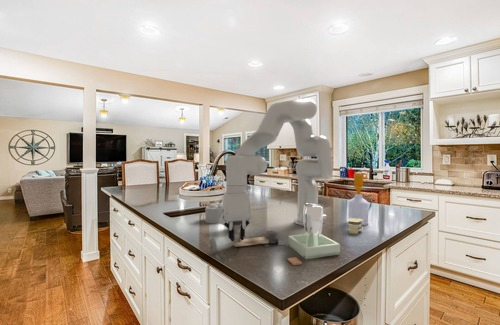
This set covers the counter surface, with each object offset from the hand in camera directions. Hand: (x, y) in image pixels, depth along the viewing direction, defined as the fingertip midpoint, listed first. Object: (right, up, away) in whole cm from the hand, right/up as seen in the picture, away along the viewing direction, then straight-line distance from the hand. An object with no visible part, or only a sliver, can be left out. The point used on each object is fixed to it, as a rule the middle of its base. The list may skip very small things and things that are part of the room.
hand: (236, 239), depth 92 cm
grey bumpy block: (-11, -2, +37) cm, 38 cm away
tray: (+27, -3, -3) cm, 27 cm away
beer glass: (+27, -2, -2) cm, 28 cm away
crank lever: (+7, -2, +2) cm, 8 cm away
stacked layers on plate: (+51, -3, +18) cm, 54 cm away
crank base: (+16, -3, -3) cm, 16 cm away
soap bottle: (+58, -2, +32) cm, 66 cm away
